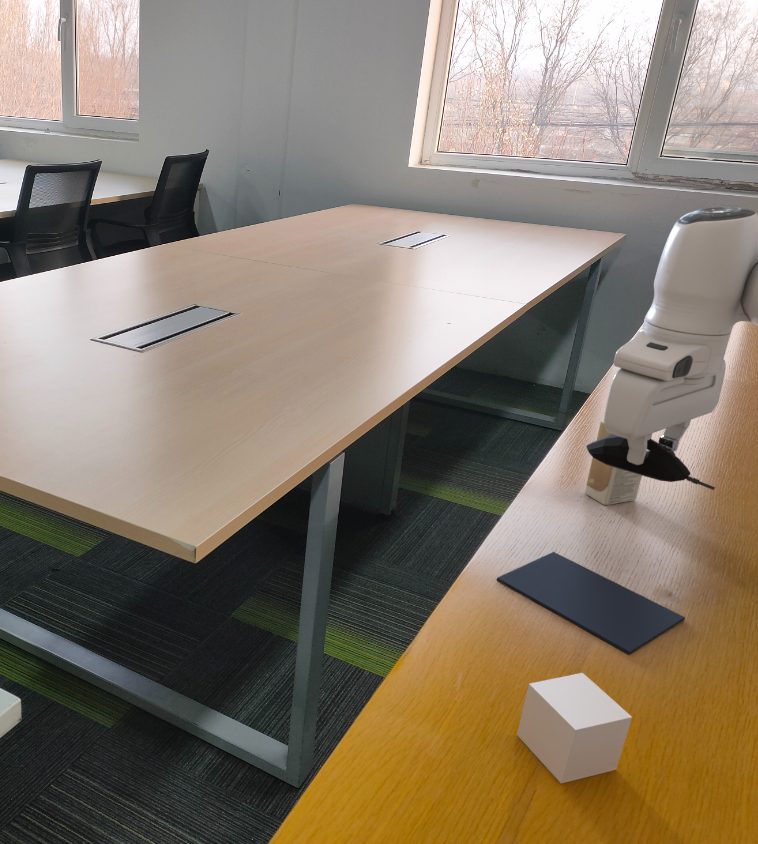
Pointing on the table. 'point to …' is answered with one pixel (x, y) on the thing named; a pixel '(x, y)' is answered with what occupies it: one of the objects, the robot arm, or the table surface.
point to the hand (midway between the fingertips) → (651, 456)
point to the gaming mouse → (657, 466)
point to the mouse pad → (592, 601)
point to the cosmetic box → (611, 480)
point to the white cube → (573, 727)
